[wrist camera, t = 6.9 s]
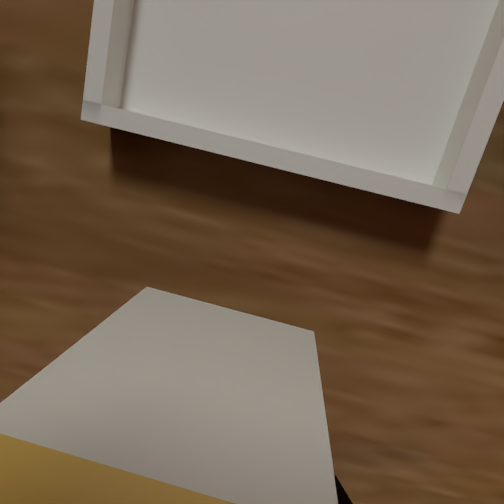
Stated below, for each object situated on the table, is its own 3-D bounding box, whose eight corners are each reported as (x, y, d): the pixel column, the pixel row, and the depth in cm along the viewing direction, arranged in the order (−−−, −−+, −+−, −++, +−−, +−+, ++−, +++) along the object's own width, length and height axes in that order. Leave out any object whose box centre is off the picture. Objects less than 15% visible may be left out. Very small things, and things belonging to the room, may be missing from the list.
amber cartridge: (270, 470, 10) (242, 878, 4) (122, 427, 10) (-96, 757, 4) (313, 331, 9) (354, 623, 3) (146, 286, 9) (-101, 484, 3)
